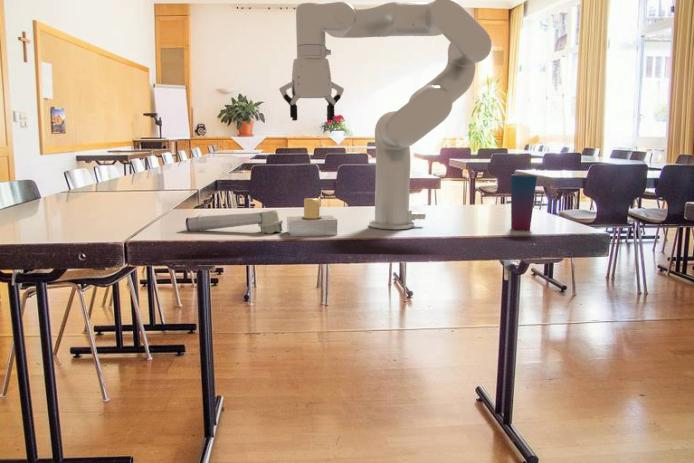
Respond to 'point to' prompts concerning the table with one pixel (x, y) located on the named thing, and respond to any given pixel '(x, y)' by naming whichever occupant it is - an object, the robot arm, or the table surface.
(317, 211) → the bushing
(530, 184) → the cup
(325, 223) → the block
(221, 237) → the table surface
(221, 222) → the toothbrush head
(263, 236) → the table surface
